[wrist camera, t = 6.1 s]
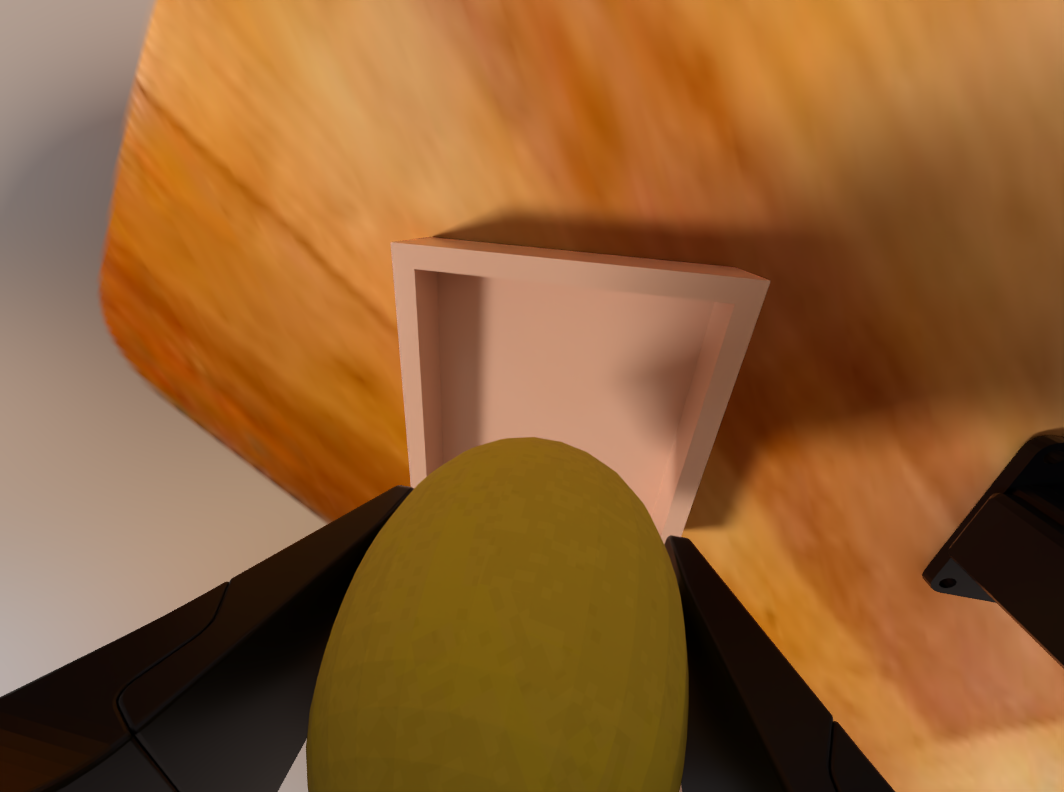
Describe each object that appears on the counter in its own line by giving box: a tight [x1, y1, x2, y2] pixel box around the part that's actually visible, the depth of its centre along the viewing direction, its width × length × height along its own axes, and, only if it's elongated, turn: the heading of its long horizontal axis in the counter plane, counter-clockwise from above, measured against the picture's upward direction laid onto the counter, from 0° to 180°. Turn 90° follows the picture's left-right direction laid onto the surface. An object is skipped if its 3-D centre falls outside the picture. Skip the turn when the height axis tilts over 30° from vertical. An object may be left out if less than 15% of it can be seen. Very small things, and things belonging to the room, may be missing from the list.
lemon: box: [306, 437, 689, 792], centre depth 7 cm, size 6×6×8 cm
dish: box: [391, 237, 770, 544], centre depth 12 cm, size 9×10×2 cm
